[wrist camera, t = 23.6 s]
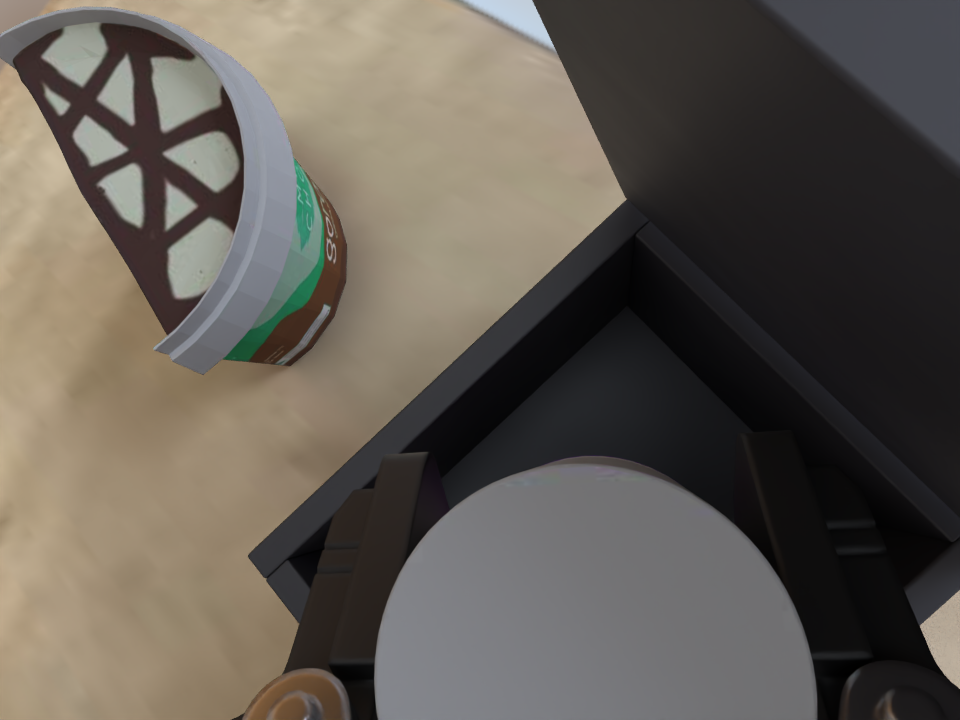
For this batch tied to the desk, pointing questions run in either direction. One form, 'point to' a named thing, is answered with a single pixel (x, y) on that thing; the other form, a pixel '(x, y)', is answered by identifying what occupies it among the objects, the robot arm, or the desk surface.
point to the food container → (188, 182)
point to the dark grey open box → (629, 407)
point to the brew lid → (801, 181)
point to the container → (590, 608)
